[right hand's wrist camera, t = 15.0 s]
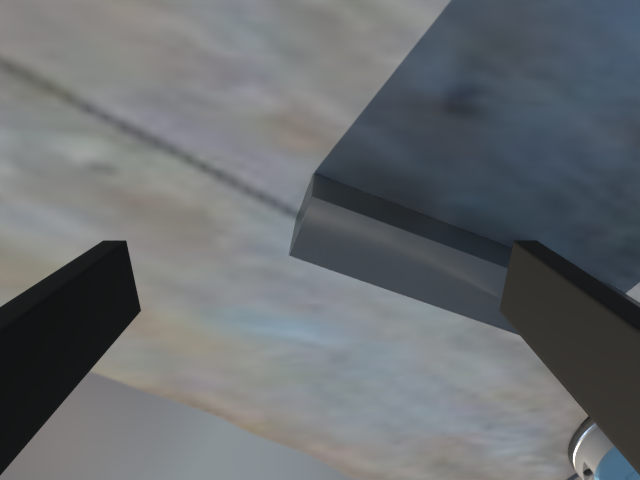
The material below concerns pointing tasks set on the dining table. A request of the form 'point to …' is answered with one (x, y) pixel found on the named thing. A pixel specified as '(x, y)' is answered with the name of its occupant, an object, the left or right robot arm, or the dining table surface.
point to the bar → (403, 251)
